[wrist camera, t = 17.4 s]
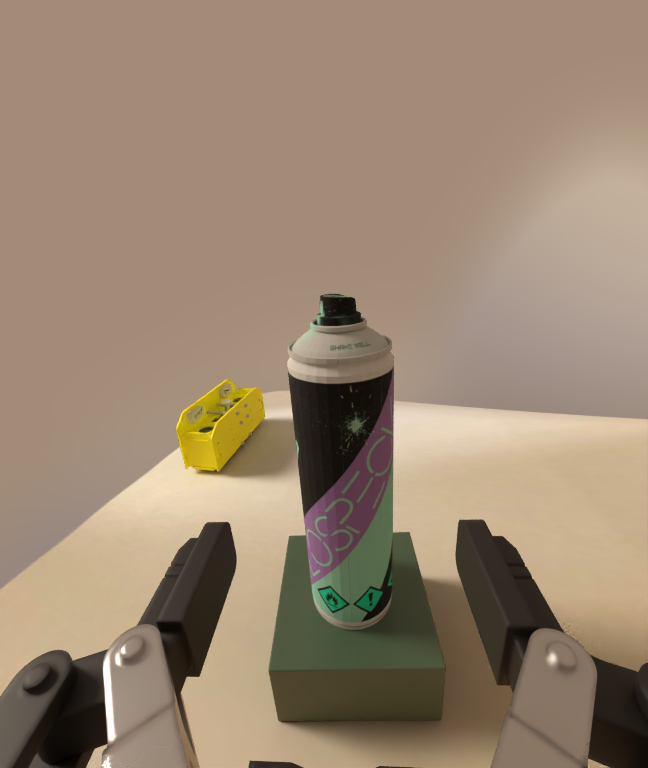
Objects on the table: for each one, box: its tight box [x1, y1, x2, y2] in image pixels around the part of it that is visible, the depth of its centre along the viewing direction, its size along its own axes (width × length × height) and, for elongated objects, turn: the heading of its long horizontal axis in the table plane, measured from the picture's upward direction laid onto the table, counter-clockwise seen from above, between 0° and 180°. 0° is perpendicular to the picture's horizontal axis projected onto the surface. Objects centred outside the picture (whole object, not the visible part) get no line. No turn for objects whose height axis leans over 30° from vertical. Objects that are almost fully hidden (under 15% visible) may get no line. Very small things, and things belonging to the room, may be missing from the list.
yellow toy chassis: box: [176, 379, 265, 472], centre depth 52 cm, size 16×6×8 cm, turn 167°
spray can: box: [287, 294, 394, 630], centre depth 20 cm, size 6×6×20 cm
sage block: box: [269, 532, 446, 721], centre depth 25 cm, size 10×10×5 cm
